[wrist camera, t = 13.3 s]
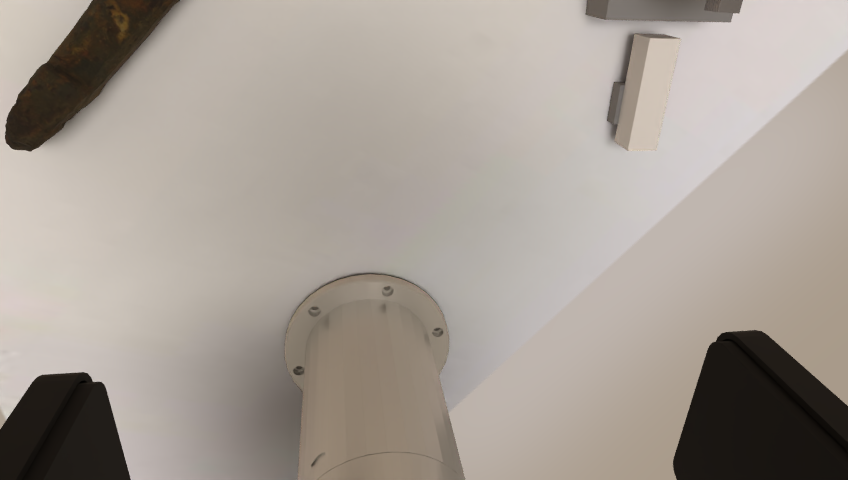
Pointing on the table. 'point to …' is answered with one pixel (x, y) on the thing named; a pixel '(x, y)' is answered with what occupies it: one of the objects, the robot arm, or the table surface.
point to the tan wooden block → (723, 6)
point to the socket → (647, 66)
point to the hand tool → (81, 67)
